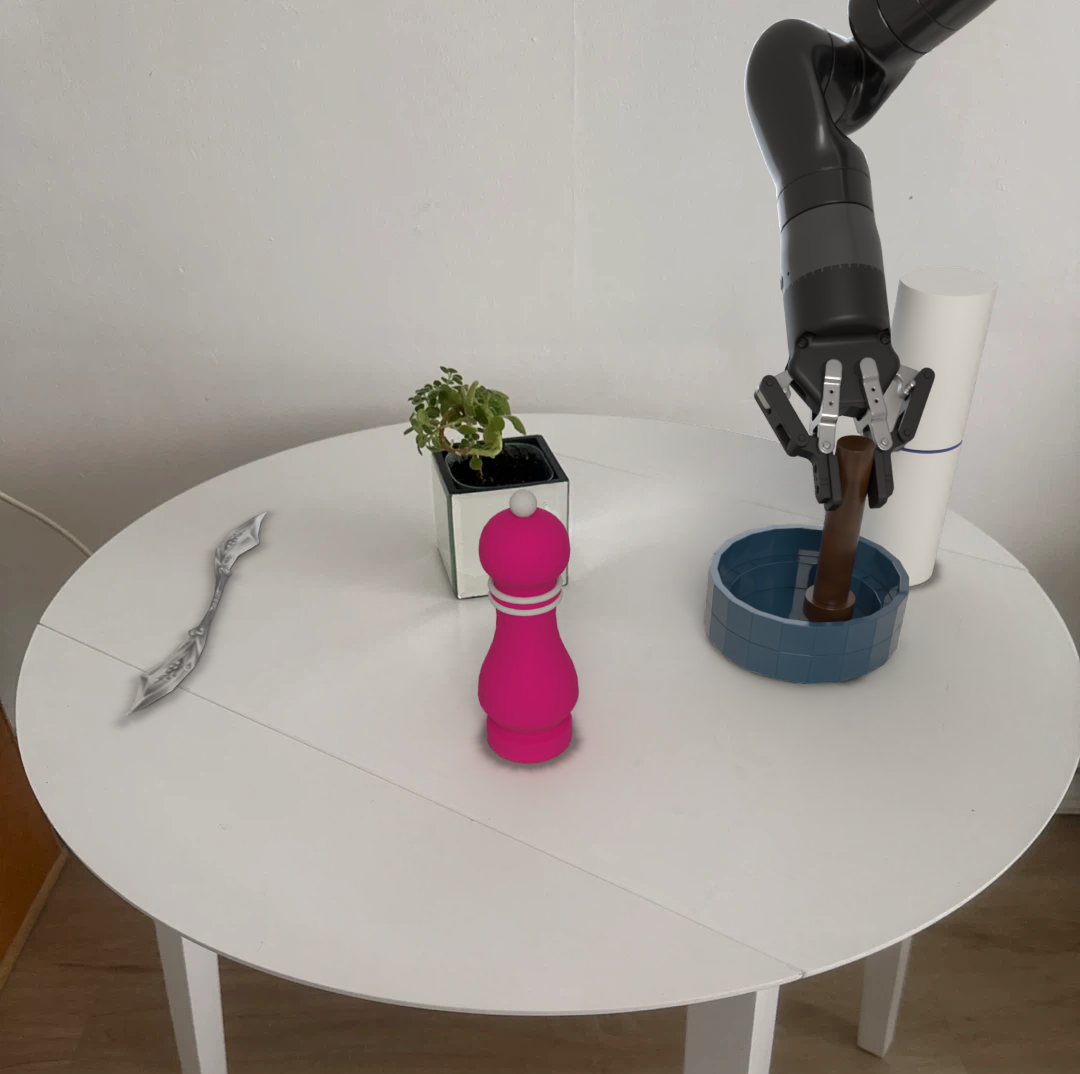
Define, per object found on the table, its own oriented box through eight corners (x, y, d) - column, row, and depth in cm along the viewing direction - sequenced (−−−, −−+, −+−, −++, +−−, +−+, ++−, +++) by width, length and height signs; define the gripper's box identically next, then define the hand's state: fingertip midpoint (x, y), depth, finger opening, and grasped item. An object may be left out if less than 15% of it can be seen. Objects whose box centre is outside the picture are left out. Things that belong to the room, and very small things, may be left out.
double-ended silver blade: (120, 718, 88) (185, 718, 87) (118, 712, 87) (183, 712, 87) (223, 513, 113) (273, 513, 112) (222, 508, 112) (272, 508, 112)
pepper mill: (530, 694, 89) (524, 454, 77) (598, 736, 85) (604, 490, 73) (460, 737, 85) (441, 491, 73) (528, 782, 81) (521, 531, 69)
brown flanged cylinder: (853, 602, 95) (885, 434, 86) (851, 629, 92) (883, 457, 83) (804, 596, 96) (830, 428, 87) (800, 622, 93) (826, 452, 84)
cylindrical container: (852, 583, 101) (903, 294, 85) (848, 542, 107) (896, 263, 91) (936, 589, 100) (1004, 298, 84) (928, 548, 106) (991, 267, 90)
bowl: (897, 597, 99) (910, 536, 95) (892, 704, 88) (907, 639, 84) (718, 575, 102) (724, 515, 99) (690, 675, 91) (696, 611, 87)
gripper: (753, 263, 83) (776, 497, 81) (943, 255, 84) (970, 486, 82) (730, 311, 91) (751, 526, 89) (905, 303, 92) (929, 516, 90)
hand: (856, 505), depth 86 cm, fingers closed on brown flanged cylinder, 3 cm apart
